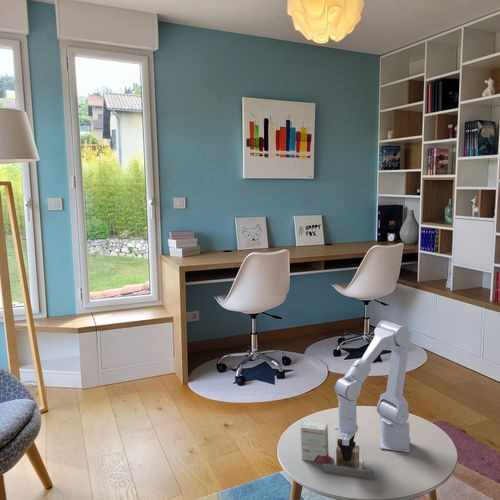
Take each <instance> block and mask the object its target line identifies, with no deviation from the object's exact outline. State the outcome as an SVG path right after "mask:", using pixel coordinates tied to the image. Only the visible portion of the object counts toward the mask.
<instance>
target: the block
mask: <svg viewBox="0 0 500 500" xmlns="http://www.w3.org/2000/svg"><path fill="white" fill-rule="evenodd" d="M335 452H336V453H335V456H336V465H339V466H346V467H353V468H358V467H359V460H360V445H357V444H355V447H354V448H353V451H352V455H351V460H350V462H348V461H344V460H343V457H342V452H341V449H340V447H339V446H338V444H336V449H335Z"/></svg>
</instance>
